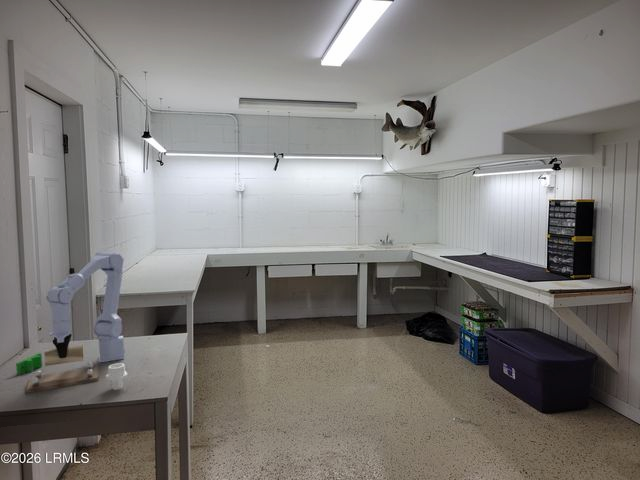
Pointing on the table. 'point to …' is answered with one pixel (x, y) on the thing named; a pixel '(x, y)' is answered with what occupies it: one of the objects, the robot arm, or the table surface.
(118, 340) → the robot arm
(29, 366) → the green block
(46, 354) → the pine shelf board
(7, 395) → the table surface
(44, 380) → the peg base
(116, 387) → the pipe fitting
